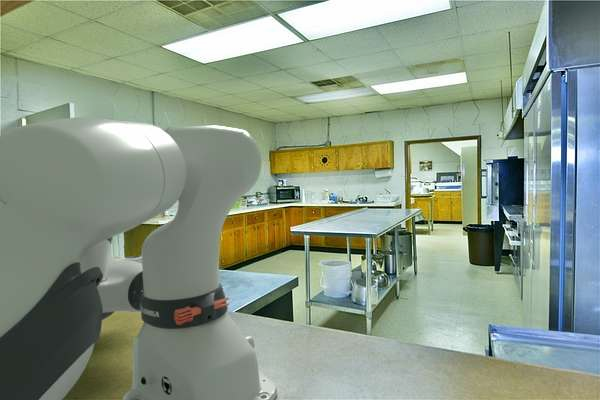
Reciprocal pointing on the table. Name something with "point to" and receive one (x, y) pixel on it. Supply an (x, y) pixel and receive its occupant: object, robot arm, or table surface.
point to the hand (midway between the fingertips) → (79, 270)
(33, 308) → the robot arm
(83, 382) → the table surface
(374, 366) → the table surface
